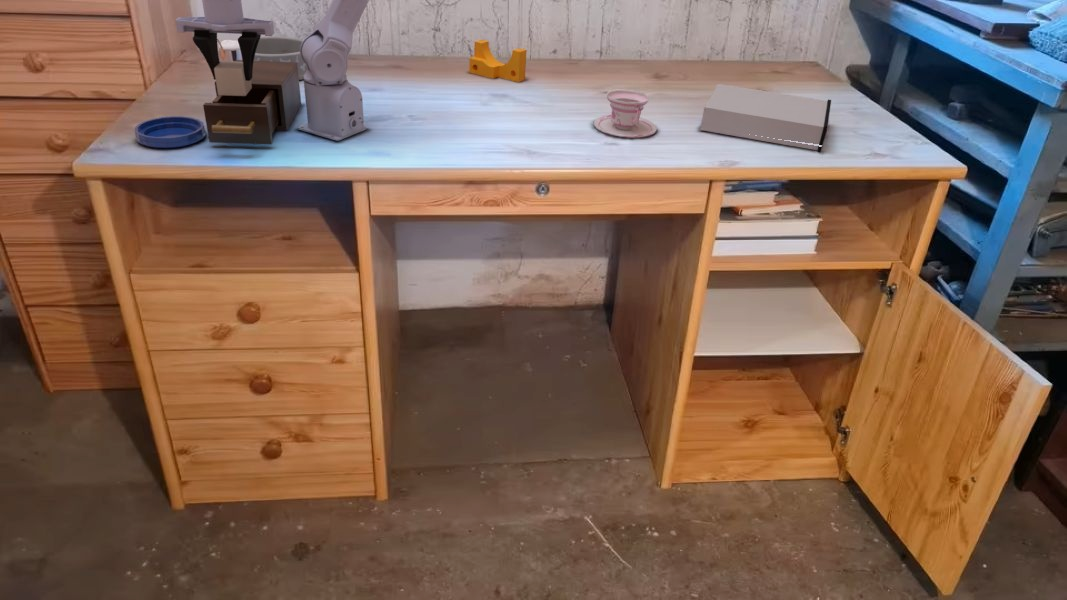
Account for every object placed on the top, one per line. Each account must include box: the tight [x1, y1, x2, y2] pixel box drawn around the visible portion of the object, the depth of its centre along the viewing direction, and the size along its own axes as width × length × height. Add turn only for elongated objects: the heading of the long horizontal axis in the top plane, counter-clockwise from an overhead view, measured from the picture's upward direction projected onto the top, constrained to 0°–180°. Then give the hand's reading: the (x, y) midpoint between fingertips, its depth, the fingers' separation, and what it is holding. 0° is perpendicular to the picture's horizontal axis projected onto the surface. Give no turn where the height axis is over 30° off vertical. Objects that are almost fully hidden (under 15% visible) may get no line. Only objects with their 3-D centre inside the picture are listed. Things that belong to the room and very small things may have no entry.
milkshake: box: [217, 38, 243, 61], centre depth 153 cm, size 4×5×10 cm
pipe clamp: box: [468, 39, 527, 83], centre depth 171 cm, size 12×4×6 cm, turn 58°
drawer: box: [202, 88, 281, 145], centre depth 131 cm, size 17×10×6 cm, turn 4°
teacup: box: [593, 88, 658, 138], centre depth 147 cm, size 12×12×6 cm
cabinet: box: [214, 60, 302, 131], centre depth 140 cm, size 14×11×8 cm
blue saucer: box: [134, 115, 207, 149], centre depth 130 cm, size 11×11×2 cm
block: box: [214, 60, 252, 96], centre depth 128 cm, size 4×4×4 cm
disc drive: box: [699, 83, 832, 153], centre depth 152 cm, size 18×22×5 cm
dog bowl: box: [254, 35, 308, 81], centre depth 166 cm, size 17×18×5 cm
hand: (233, 78), depth 128 cm, fingers closed on block, 4 cm apart
